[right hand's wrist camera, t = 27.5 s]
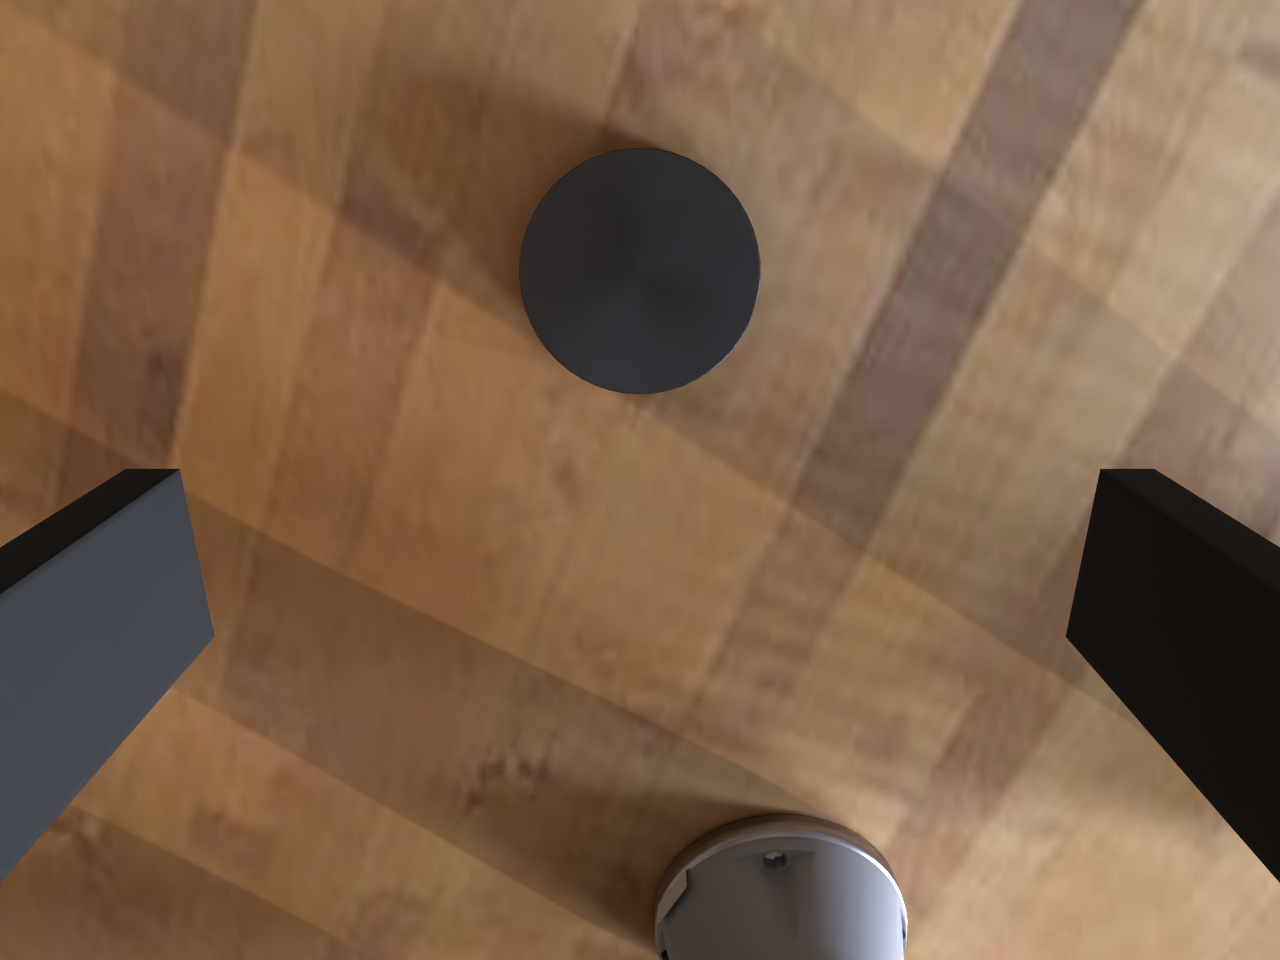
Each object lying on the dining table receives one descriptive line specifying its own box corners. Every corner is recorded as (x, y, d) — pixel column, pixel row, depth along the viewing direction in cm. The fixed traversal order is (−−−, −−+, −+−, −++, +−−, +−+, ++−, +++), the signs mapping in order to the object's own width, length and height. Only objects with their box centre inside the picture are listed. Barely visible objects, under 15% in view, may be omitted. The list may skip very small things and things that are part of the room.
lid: (802, 271, 40) (810, 278, 38) (639, 426, 42) (639, 439, 40) (640, 93, 37) (640, 90, 35) (477, 270, 40) (469, 277, 38)
